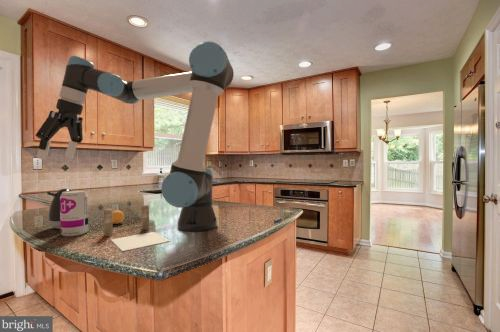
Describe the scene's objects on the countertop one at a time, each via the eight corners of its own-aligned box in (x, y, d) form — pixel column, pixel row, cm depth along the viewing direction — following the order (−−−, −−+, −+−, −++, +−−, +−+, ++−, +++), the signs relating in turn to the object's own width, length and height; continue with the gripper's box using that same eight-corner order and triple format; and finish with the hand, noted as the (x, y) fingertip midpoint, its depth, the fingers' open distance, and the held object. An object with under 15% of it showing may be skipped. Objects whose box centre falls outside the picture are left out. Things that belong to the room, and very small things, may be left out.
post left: (113, 235, 88) (113, 209, 88) (105, 236, 86) (104, 210, 86) (111, 233, 90) (111, 208, 90) (103, 234, 88) (103, 209, 88)
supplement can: (74, 237, 85) (73, 193, 85) (54, 236, 87) (53, 192, 87) (93, 231, 93) (93, 190, 93) (75, 229, 95) (74, 190, 95)
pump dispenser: (46, 227, 99) (45, 188, 99) (78, 222, 106) (77, 186, 106) (48, 232, 91) (48, 190, 91) (82, 227, 98) (82, 188, 98)
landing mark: (169, 241, 81) (169, 240, 81) (122, 251, 72) (122, 250, 72) (153, 232, 91) (153, 231, 91) (110, 240, 82) (110, 239, 82)
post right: (150, 228, 96) (149, 205, 96) (143, 230, 94) (142, 206, 94) (147, 227, 98) (147, 204, 98) (140, 228, 96) (140, 205, 96)
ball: (125, 223, 104) (125, 210, 104) (111, 226, 100) (110, 212, 100) (122, 221, 108) (122, 208, 108) (107, 223, 105) (107, 210, 105)
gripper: (82, 104, 102) (69, 154, 103) (32, 89, 77) (14, 155, 78) (101, 110, 103) (87, 160, 104) (56, 97, 78) (39, 162, 79)
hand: (56, 158), depth 91 cm, fingers open, 13 cm apart
